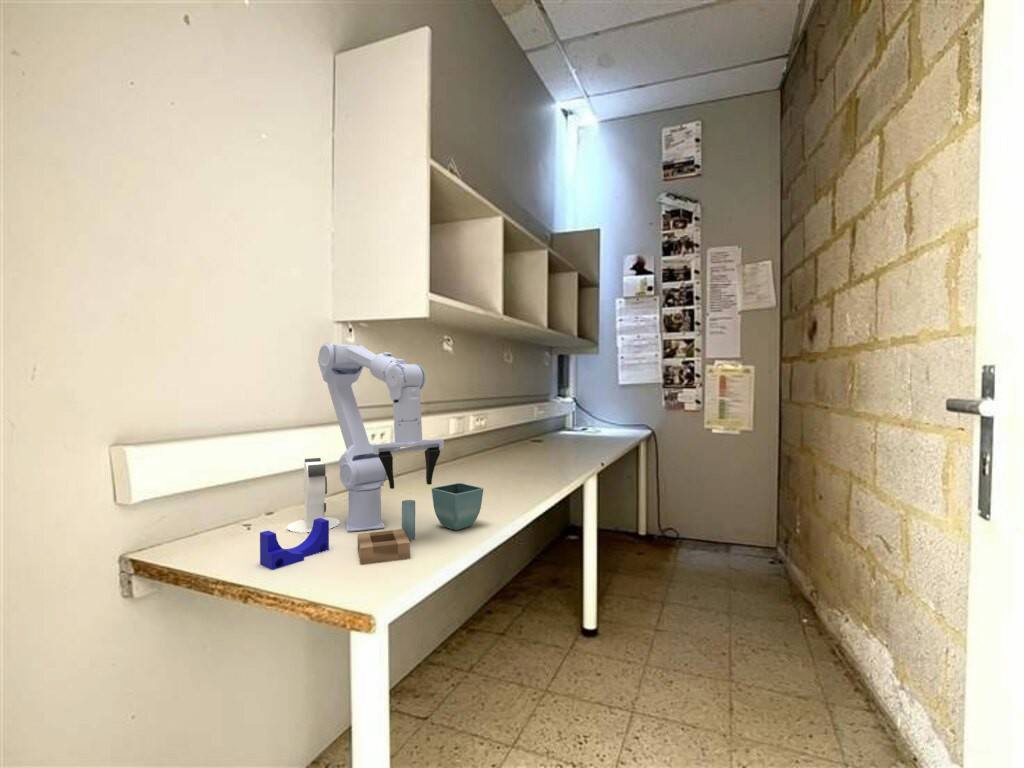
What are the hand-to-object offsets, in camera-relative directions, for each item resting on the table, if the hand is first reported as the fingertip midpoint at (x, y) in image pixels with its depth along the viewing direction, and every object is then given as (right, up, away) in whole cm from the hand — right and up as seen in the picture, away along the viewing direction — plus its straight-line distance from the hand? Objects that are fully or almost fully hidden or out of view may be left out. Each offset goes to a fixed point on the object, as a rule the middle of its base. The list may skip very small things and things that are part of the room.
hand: (410, 486), depth 102 cm
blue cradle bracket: (-20, -12, -9) cm, 25 cm away
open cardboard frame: (-4, -12, -7) cm, 14 cm away
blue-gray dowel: (-1, -12, +2) cm, 12 cm away
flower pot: (+9, -12, +11) cm, 18 cm away
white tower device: (-25, -12, +11) cm, 29 cm away
